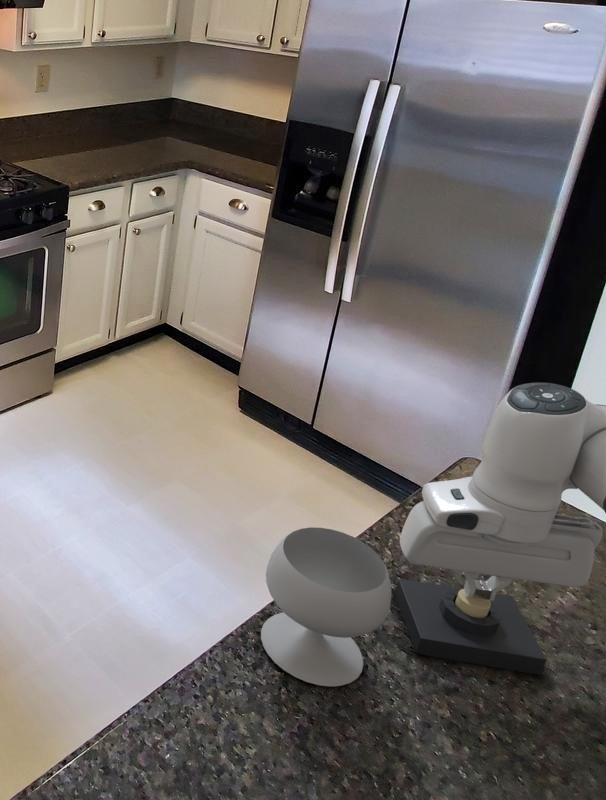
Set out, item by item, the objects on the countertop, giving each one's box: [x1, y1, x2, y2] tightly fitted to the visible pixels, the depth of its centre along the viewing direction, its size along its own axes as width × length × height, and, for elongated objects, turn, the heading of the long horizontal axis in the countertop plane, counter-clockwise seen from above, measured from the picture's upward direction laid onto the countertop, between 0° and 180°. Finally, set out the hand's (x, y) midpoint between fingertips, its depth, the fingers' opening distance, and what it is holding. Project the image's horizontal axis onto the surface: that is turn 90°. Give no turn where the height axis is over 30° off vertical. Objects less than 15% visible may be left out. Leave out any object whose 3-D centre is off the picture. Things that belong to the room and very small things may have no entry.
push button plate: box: [394, 578, 547, 676], centre depth 104 cm, size 14×11×4 cm
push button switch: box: [455, 588, 491, 618], centre depth 103 cm, size 4×4×2 cm
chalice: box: [260, 526, 392, 687], centre depth 99 cm, size 14×14×15 cm
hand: (478, 595), depth 102 cm, fingers closed
